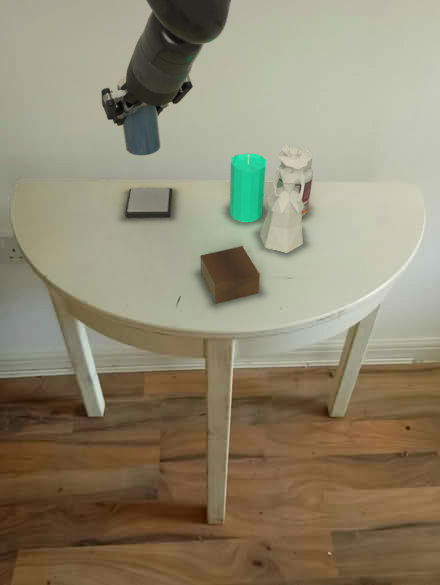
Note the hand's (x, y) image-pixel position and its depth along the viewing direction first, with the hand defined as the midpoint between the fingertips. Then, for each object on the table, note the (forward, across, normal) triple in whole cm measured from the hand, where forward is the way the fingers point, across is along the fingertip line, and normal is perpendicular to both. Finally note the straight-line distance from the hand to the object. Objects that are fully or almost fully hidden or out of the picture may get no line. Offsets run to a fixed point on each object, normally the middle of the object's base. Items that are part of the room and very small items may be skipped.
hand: (135, 115), depth 82 cm
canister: (+2, 0, +5) cm, 5 cm away
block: (-7, -2, +31) cm, 32 cm away
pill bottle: (+1, -22, +23) cm, 32 cm away
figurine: (-3, -16, +28) cm, 32 cm away
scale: (+11, 0, +13) cm, 17 cm away
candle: (+3, -14, +21) cm, 26 cm away
